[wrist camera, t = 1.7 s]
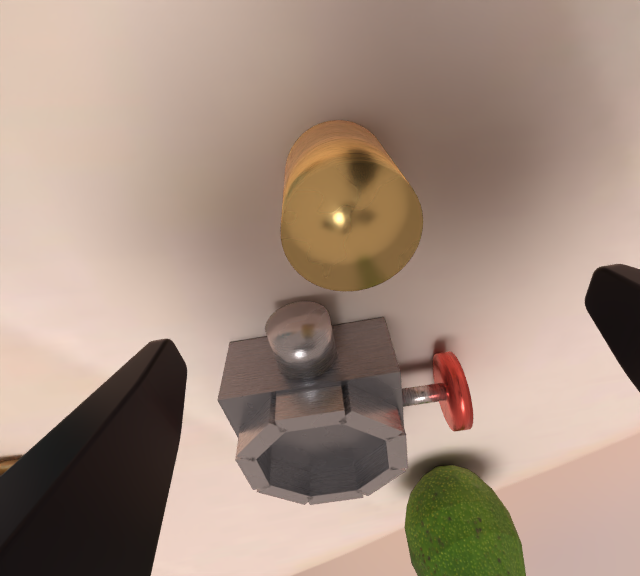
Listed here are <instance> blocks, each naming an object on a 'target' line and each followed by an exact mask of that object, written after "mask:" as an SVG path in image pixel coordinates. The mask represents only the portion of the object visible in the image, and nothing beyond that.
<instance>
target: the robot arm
mask: <svg viewBox="0 0 640 576" xmlns="http://www.w3.org/2000/svg"><path fill="white" fill-rule="evenodd" d="M585 306H586V309H587V311H588V313H589V314H590V316H591V318H592V319H593V321H594V323H595V324H596V326H597V328H598V329H599V331H600V333H601V334H602V336H603V338H604V339H605V341H606V343H607V344H608V346H609V348H610V349H611V351H612V353H613V354H614V356H615V357H616V359H617V361H618V362H619V364H620V365H621V367H622V369H623V370H624V372H625V373H626V374H627V376H628V377H629V379H630V380H631V381H632V383H633V384H634V385H635V387H636V388H637V389H638V391H639V392H640V269H637V268H634V267H630V266H627V265H623V264H614V265H608V266H602V267H599V268H597V269H596V270H595V271H594V273H593V275H592V278H591V281H590V284H589V287H588V290H587V293H586V296H585ZM186 380H187V367H186V364H185V361H184V360H183V358H182V356H181V355H180V353H179V351H178V349H177V348H176V346H175V344H174V343H173V341H172V340H170V339H161V340H155V341H151V342H149V343H148V344H147V345H146V346H145V347H144V348H142V349H141V350H140V351H139V352H138V353H137V354H136V355H135V356H134V357H132V358H131V359H130V360H129V361H128V362H127V363H126V364H125V365H124V366H122V367H121V368H120V369H119V370H118V371H117V372H116V373H115V374H114V375H112V376H111V377H110V378H109V379H108V380H107V381H106V382H105V383H104V384H102V385H101V386H100V387H99V388H98V389H97V390H96V391H95V392H94V393H92V394H91V395H90V396H89V397H88V398H87V399H86V400H85V401H84V402H82V403H81V404H80V405H79V406H78V407H77V408H76V409H75V410H73V411H72V412H71V413H70V414H69V415H68V416H67V417H66V418H65V419H63V420H62V421H61V422H60V423H59V424H58V425H57V426H56V427H55V428H53V429H52V430H51V431H50V432H49V433H48V434H47V435H46V436H45V437H43V438H42V439H41V440H40V441H39V442H38V443H37V444H36V445H35V446H33V447H32V448H31V449H30V450H29V451H28V452H27V453H26V454H25V455H23V456H22V457H21V458H20V459H19V460H18V461H17V462H16V463H15V464H13V465H12V466H11V467H10V468H9V469H8V470H7V471H6V472H5V473H3V474H2V475H1V476H0V576H151V571H152V567H153V562H154V558H155V553H156V548H157V544H158V539H159V535H160V530H161V525H162V521H163V516H164V512H165V507H166V502H167V498H168V493H169V488H170V484H171V479H172V475H173V470H174V465H175V461H176V456H177V452H178V447H179V441H180V436H181V428H182V419H183V409H184V399H185V390H186Z"/></svg>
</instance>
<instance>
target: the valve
mask: <svg viewBox="0 0 640 576" xmlns="http://www.w3.org/2000/svg"><path fill="white" fill-rule="evenodd" d="M265 330H266V334H267V337H261V338H255V339H249V340H243V341H236V342H230V344H229V348H228V353H227V358H226V363H225V367H224V372H223V377H222V382H221V386H220V391H219V396H218V402H219V404H220V406H221V407H222V409H223V411H224V413H225V415H226V417H227V418H228V420H229V422H230V424H231V426H232V428H233V429H234V431H235V433H236V435H237V437H238V445H237V452H236V459H235V460H236V462H237V463H238V465H239V467H240V468H241V470H242V472H243V474H244V475H245V477H246V479H247V480H248V482H249V484H250V485H251V487H252V489H253V490H255V489H257V492H259V493H262V494H266V495H270V496H274V497H277V498H281V499H285V500H289V501H292V502H296V503H300V504H304V505H305V504H306V503H307V502H309V504H310V505H313V504H320V503H328V502H335V501H342V500H350V499H357V498H363V494H364V495H367V496H369V495H371V494H372V493H374V492H375V491H377V490H378V489H380V488H381V487H383V486H384V485H386V484H387V483H389V482H390V481H392V480H393V479H395V478H396V477H398V476H399V475H401V474H402V473H404V472H405V468H408V462H407V444H406V433H405V429H404V420H403V407H404V406H411V405H418V404H424V403H431V402H438V401H439V403H440V406H441V409H442V412H443V414H444V417H445V419H446V421H447V423H448V425H449V427H450V428H451V429H452V430H453V431H461V430H468V429H471V427H472V424H473V408H472V401H471V396H470V391H469V387H468V384H467V380H466V377H465V375H464V372H463V369H462V367H461V365H460V363H459V361H458V359H457V357H456V356H455V355H454V354H453V353H452V352H450V351H449V352H443V353H437V354H434V357H433V375H434V381H435V384H430V385H423V386H417V387H410V388H403V389H402V388H401V372H400V368H399V365H398V362H397V358H396V355H395V352H394V348H393V345H392V342H391V338H390V335H389V332H388V329H387V325H386V322H385V319H384V317H382V318H376V319H370V320H364V321H358V322H352V323H346V324H340V325H334V326H331V321H330V316H329V313H328V311H327V309H326V308H325V307H323V306H322V305H320V304H318V303H315V302H309V301H301V302H295V303H291V304H288V305H286V306H283V307H282V308H280V309H278V310H277V311H275V312H274V313H273V314H272V315H271V316H270V318H269V319H268V321H267V323H266V327H265Z"/></svg>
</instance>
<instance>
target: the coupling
mask: <svg viewBox="0 0 640 576" xmlns="http://www.w3.org/2000/svg"><path fill="white" fill-rule="evenodd" d="M422 229H423V214H422V209H421V205H420V202H419V200H418V197H417V195H416V194H415V192H414V190H413V189H412V187H411V186H410V184H409V183H408V182H407V180H406V179H405V177H404V176H403V175H402V173H401V172H400V170H399V169H398V168H397V166H396V165H395V163H394V162H393V161H392V159H391V158H390V156H389V155H388V154H387V152H386V151H385V149H384V148H383V147H382V145H381V144H380V142H379V141H378V140H377V139H376V137H375V136H374V135H373V134H372V133H371V132H370V131H369V130H367V129H366V128H364V127H363V126H361V125H358V124H356V123H353V122H350V121H344V120H333V121H327V122H323V123H320V124H318V125H315V126H313V127H312V128H310V129H308V130H307V131H306V132H305V133H303V134H302V135H301V136H300V137H299V138H298V139H297V141H296V142H295V144H294V145H293V147H292V149H291V150H290V153H289V155H288V158H287V162H286V168H285V180H284V193H283V205H282V218H281V241H282V247H283V249H284V252H285V255H286V257H287V259H288V261H289V262H290V264H291V265H292V266H293V268H294V269H295V270H296V271H297V272H298V273H299V274H300V275H301V276H302V277H304V278H305V279H306V280H308V281H310V282H311V283H313V284H315V285H317V286H320V287H323V288H326V289H330V290H335V291H357V290H363V289H367V288H370V287H373V286H376V285H378V284H381V283H383V282H385V281H386V280H388V279H390V278H391V277H393V276H394V275H395V274H397V273H398V272H399V271H400V270H401V269H402V268H403V267H404V266H405V265H406V264H407V263H408V262H409V260H410V259H411V257H412V256H413V254H414V253H415V251H416V249H417V247H418V244H419V242H420V239H421V234H422Z"/></svg>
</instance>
